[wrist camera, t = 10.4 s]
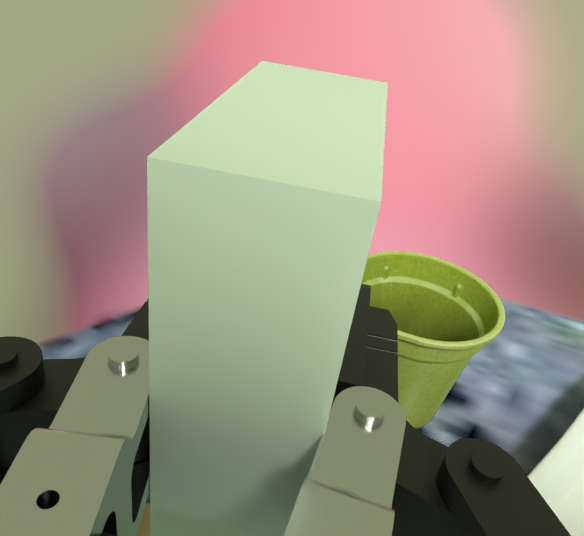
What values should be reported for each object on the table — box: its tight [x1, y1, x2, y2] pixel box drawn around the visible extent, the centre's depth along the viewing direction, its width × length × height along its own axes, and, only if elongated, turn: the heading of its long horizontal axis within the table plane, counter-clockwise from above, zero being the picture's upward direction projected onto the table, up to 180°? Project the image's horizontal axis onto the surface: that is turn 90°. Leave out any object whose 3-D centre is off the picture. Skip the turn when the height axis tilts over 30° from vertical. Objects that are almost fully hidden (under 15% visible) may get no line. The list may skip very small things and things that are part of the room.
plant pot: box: [361, 251, 505, 428], centre depth 34 cm, size 9×9×9 cm
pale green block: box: [147, 61, 388, 536], centre depth 13 cm, size 3×6×14 cm, turn 171°
